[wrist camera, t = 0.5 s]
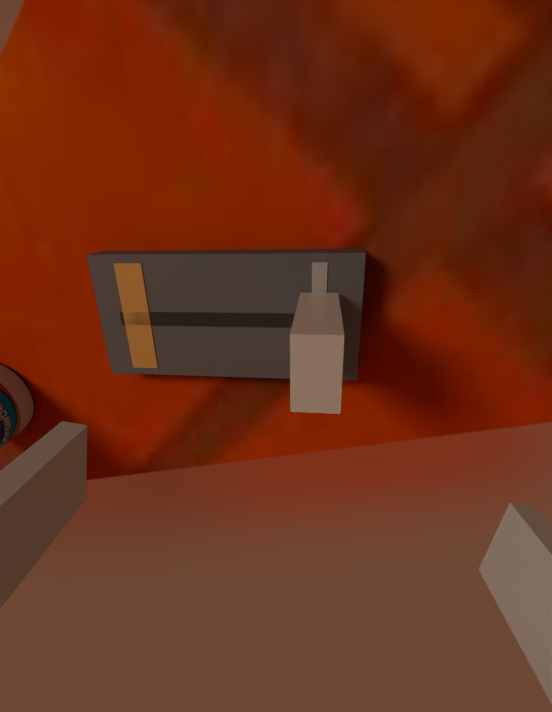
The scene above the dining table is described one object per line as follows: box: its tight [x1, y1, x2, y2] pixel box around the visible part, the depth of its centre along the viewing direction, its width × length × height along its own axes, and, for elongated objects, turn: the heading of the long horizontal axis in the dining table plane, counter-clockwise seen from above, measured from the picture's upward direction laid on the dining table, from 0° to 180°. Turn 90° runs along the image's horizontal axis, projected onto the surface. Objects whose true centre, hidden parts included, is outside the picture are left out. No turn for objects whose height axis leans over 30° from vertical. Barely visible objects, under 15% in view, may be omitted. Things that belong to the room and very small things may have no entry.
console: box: [87, 249, 366, 381], centre depth 33 cm, size 23×11×3 cm, turn 91°
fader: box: [290, 293, 344, 414], centre depth 26 cm, size 3×5×10 cm, turn 1°
